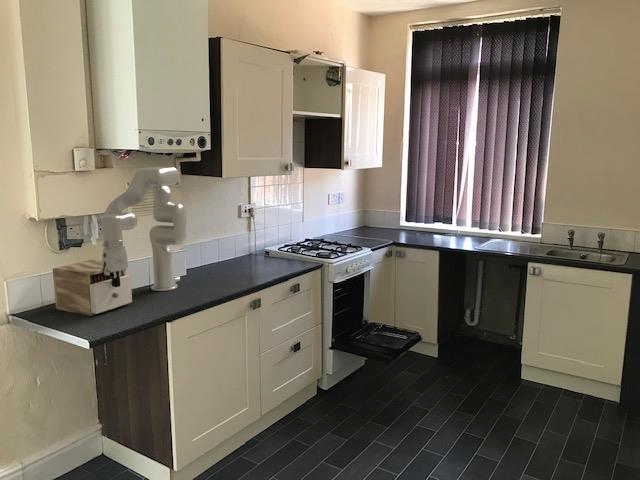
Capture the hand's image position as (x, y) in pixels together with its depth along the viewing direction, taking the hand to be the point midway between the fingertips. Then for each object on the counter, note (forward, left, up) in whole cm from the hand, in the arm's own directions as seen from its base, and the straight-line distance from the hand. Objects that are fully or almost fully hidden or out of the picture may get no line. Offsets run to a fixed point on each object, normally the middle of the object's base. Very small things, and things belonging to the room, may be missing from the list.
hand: (116, 286), depth 230 cm
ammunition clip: (0, -12, -9) cm, 15 cm away
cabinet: (0, -16, -11) cm, 19 cm away
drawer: (0, -12, -10) cm, 16 cm away
